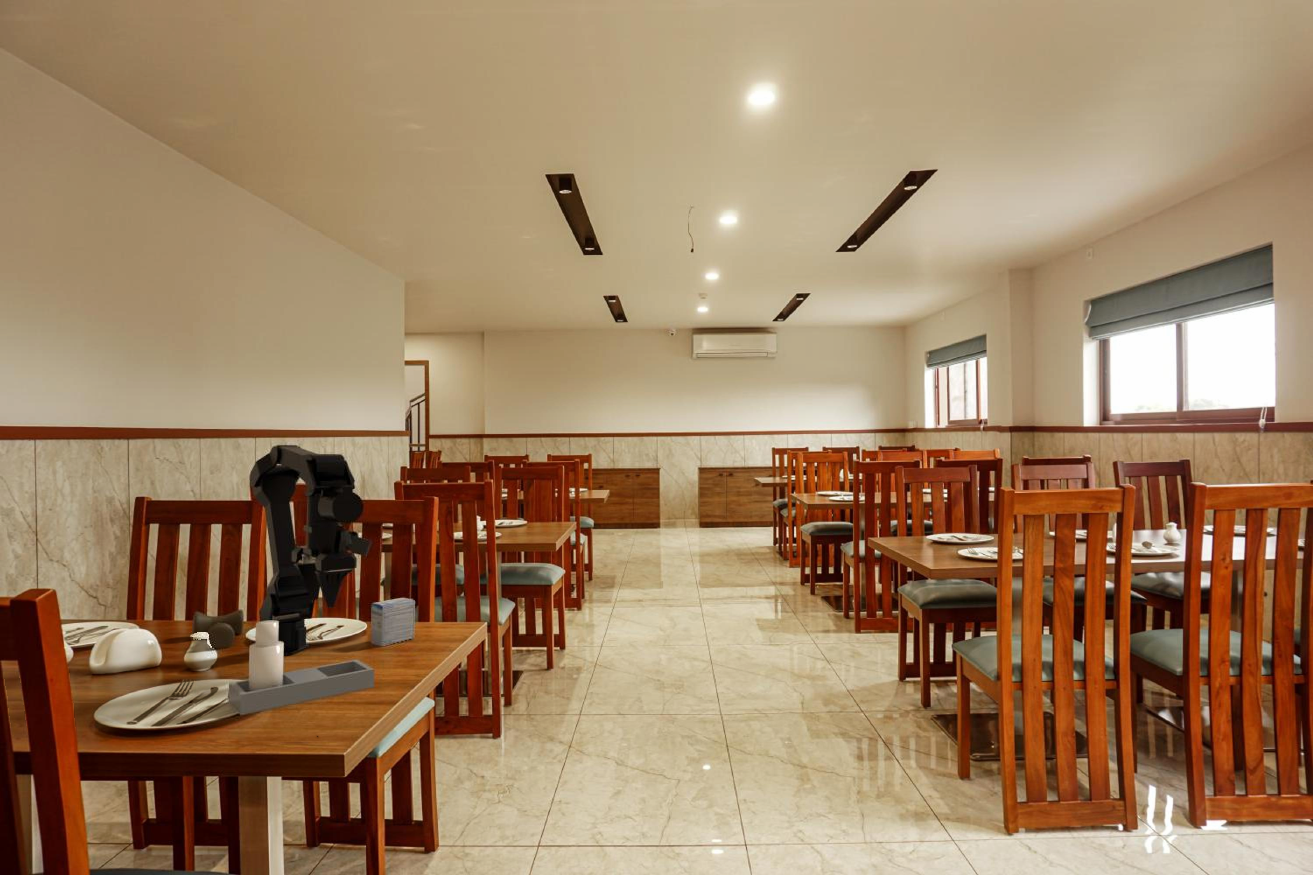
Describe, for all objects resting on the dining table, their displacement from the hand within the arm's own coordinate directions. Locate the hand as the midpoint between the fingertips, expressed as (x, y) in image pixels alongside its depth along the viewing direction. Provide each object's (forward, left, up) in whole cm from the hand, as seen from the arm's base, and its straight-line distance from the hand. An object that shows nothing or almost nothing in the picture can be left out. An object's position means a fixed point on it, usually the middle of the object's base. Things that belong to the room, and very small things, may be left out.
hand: (322, 603), depth 136 cm
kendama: (-35, +17, -12) cm, 41 cm away
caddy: (+7, -16, -12) cm, 22 cm away
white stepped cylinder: (+3, -21, -11) cm, 24 cm away
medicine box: (+4, +20, -12) cm, 24 cm away
